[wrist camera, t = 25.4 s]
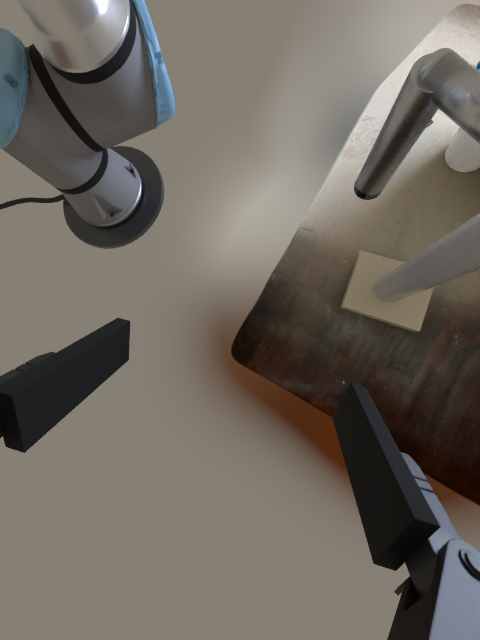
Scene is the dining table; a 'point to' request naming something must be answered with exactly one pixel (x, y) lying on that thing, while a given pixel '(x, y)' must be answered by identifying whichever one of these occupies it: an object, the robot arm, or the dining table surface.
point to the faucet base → (372, 304)
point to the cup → (463, 153)
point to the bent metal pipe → (422, 114)
